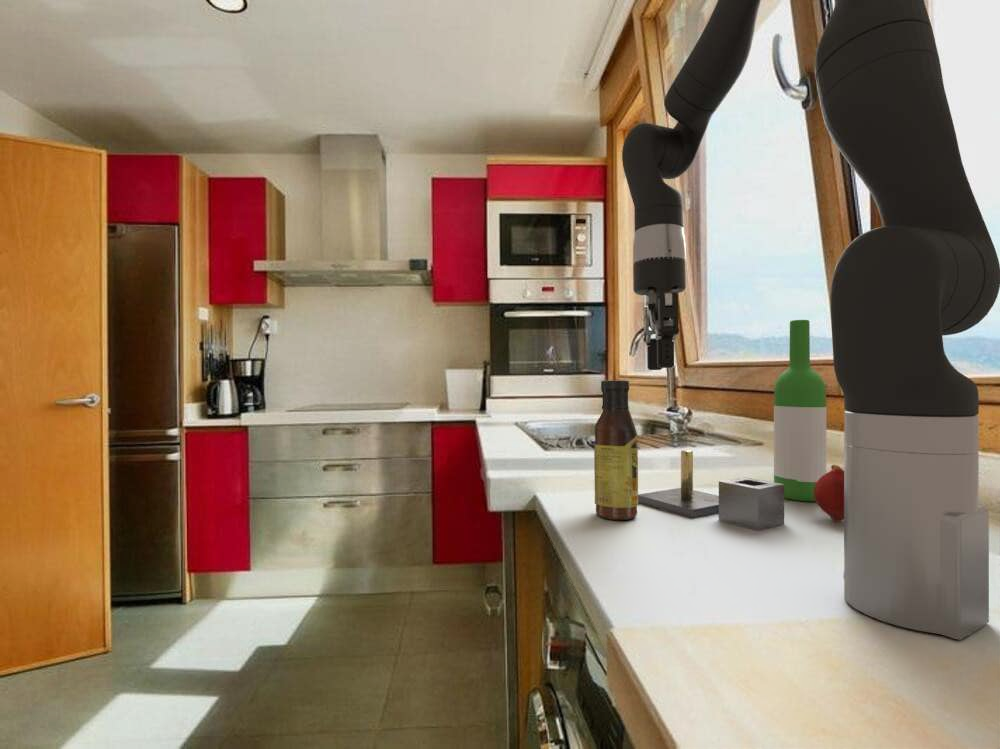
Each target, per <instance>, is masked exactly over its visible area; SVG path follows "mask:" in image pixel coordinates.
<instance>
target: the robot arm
mask: <svg viewBox="0 0 1000 749" xmlns="http://www.w3.org/2000/svg"><path fill="white" fill-rule="evenodd" d="M761 2H762V0H717V2H716V4H715V7H714V9H713V11H712V13H711V15H710V17H709V19H708V21H707V24H706V25H705V27H704V29H703V31H702V32H701V35H700V36H699V38H698V40H697V42H696V43H695V45H694V47H693V48H692V50H691V52H690V54H689V56H687V58H686V60H685V62H684V63H683V65H682V67H681V68H680V70H679V72H678V74H676V77H675V78H674V80H673V82H672V84H671V85H670V87H669V88H668V91H667V92H666V94H665V97H664V102H663V103H664V108H665V110H666V112H667V113H668V115H670V117H671V118H673V119H674V120H675V121H676V122H677V123H676V124H675V126H674V127H673V128H672V127H667V126H663V125H659V124H652V123H648V122H642V123H639V124H636V125H635V126H634V127H632V128H631V130H630V131H629V132H628V133H627V135H626V137H625V139H624V142H623V146H622V150H621V151H622V152H621V160H622V168H623V171H624V175H625V178H626V179H625V180H626V182H627V186H628V189H629V192H630V197H631V200H632V202H633V207H634V217H633V218H634V239H633V245H632V246H633V247H632V265H633V266H632V274H633V275H632V280H633V281H632V282H633V283H632V284H633V293H635V294H636V295H638V296H647V297H648V300H647V304H646V305H644V307H643V342H644V344H645V346H646V347H647V349H646V351H647V358H646V359H647V362H646V363H647V369H648V370H649V371H661V370H663V369H671V368H673V367H674V366H675V341H676V339H677V336H678V335H679V333H680V328H679V300H678V299H679V294H680V293H683V292H684V291H685V290H686V288H687V278H686V276H687V271H686V264H687V262H686V260H687V259H686V257H687V256H686V239H685V238H686V237H685V233H684V201H683V195H682V193H681V192H680V191H679V190H678V189H676V188H675V187H672V186H671V185H669V184H667V183H666V182H665V181H664V180H674V179H677V178H678V177H680V176H682V175H683V174H684V173H686V172H687V171H688V170H689V169H690V167H692V164H693V163H694V160H695V159H696V155H697V154H698V151H699V148H700V146H701V143H702V141H703V138H704V136H705V134H706V131H707V129H708V126H709V123H710V121H711V118H712V116H714V114H715V112H716V111H717V110H718V108H719V107H720V105H721V104H722V102H723V101H724V100H725V99H726V97H727V96H728V94H729V93H730V91H731V90H732V88H734V86H735V84H736V83H737V81H738V79H739V77H740V76H741V74H742V72H743V71H744V68H745V67H746V65H747V62H748V59H749V56H750V52H751V48H752V43H753V39H754V35H755V28H756V23H757V18H758V12H759V9H760V5H761ZM933 30H934V29H933V27H932V23H931V20H930V16H929V14H928V10H927V7H926V1H925V0H834V6H833V10H832V12H831V15H830V17H829V19H828V21H827V23H826V25H825V27H824V29H823V32H822V34H821V37H820V40H819V42H818V45H817V47H816V52H815V55H814V56H815V57H814V73H815V74H814V75H815V83H816V88H817V89H816V90H817V93H818V94H817V95H818V100H819V105H820V109H821V110H820V111H821V114H822V118H823V122H824V125H825V127H826V130H827V132H828V134H829V136H830V138H831V139H832V141H833V143H834V144H835V147H836V148H837V149H838V150H839V152H840V153H841V155H842V156H843V157H844V159H845V160H846V161H847V163H848V164H849V165H850V167H851V168H852V169H853V170H854V172H855V173H856V174H857V177H859V178H860V180H861V181H862V182H863V184H864V185H865V187H866V188H867V190H868V191H869V193H870V195H871V197H872V198H873V200H874V202H875V204H876V207H877V209H878V212H879V216H880V220H881V223H882V226H879V227H876V228H873V229H871V230H867V231H865V232H863V233H861V234H860V235H858V236H857V237H855V238H854V239H853V240H852V241H851V242H850V243H849V244H848V245H847V246H846V247H845V249H844V250H843V251H842V253H841V254H840V256H839V259H838V261H837V263H836V265H835V267H834V272H833V274H832V279H831V285H830V295H829V296H830V297H829V298H830V300H829V301H830V302H829V303H830V305H829V306H830V324H831V336H832V337H831V342H832V343H831V344H832V357H833V360H832V361H833V369H834V370H833V371H834V374H835V378H836V381H837V382H838V385H839V387H840V390H841V392H842V394H843V402H844V403H843V404H844V405H843V406H844V408H843V409H844V418H843V419H844V420H843V421H844V423H843V424H844V428H843V429H844V430H843V432H844V433H843V435H844V438H843V439H844V443H843V444H844V446H843V451H844V452H843V454H844V455H843V457H844V458H843V461H844V462H843V470H844V520H843V529H844V530H843V556H844V557H843V561H844V562H843V568H844V569H843V570H844V571H843V583H844V584H843V589H844V590H843V591H844V592H843V593H844V594H843V596H844V599H845V601H846V602H847V604H849V605H850V606H851V607H852V608H853V609H855V610H857V611H859V612H861V613H863V614H864V615H867V616H869V617H871V618H874V619H876V620H878V621H882V622H884V623H887V624H890V625H894V626H897V627H901V628H903V629H910V630H914V631H918V632H919V631H920V632H926V633H932V634H938V635H943V636H945V637H948V638H952V639H955V640H962V639H964V638H966V637H967V636H969V635H971V634H973V633H974V632H975V631H977V630H978V629H980V628H982V627H983V626H985V625H986V624H988V623H989V622H990V605H989V604H990V577H989V576H990V568H989V567H990V565H989V564H990V528H989V527H990V512H989V509H988V508H987V507H986V506H983V505H979V504H980V503H979V494H980V493H979V487H980V486H979V485H980V483H979V480H980V479H979V475H980V474H979V469H980V468H979V459H980V458H979V446H980V445H979V444H980V443H979V439H980V438H979V434H980V433H979V424H980V422H979V412H980V409H979V408H980V407H979V405H980V404H979V402H980V401H979V400H980V399H979V388H978V386H977V384H976V382H974V381H973V380H972V379H970V378H969V377H967V376H966V375H965V374H963V373H961V372H960V371H958V370H957V369H956V368H955V367H954V366H953V365H952V363H951V362H950V361H949V358H948V357H947V355H946V353H945V347H944V342H943V341H944V339H943V336H944V337H945V336H950V335H956V334H960V333H963V332H966V331H967V330H970V329H972V328H973V327H974V326H976V325H978V324H979V323H980V322H981V321H982V320H983V319H984V318H985V317H987V316H988V314H989V312H990V311H991V309H992V308H993V306H994V305H995V302H996V301H997V298H998V295H999V293H1000V292H999V291H1000V261H999V258H998V253H997V251H996V248H995V244H994V242H993V240H992V237H991V235H990V232H989V230H988V228H987V225H986V222H985V221H984V217H983V216H982V213H981V209H980V208H979V205H978V203H977V200H976V198H975V195H974V192H973V190H972V187H971V183H970V182H969V179H968V176H967V173H966V170H965V167H964V164H963V160H962V155H961V152H960V147H959V143H958V138H957V134H956V133H957V132H956V130H955V125H954V121H953V117H952V113H951V110H950V105H949V102H948V97H947V93H946V89H945V85H944V79H943V78H944V77H943V72H942V66H941V62H940V56H939V52H938V47H937V43H936V38H935V34H934V31H933Z"/></svg>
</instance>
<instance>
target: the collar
mask: <svg viewBox="0 0 1000 749" xmlns="http://www.w3.org/2000/svg"><path fill="white" fill-rule="evenodd" d="M718 496H719V513H718V521H722V522H726V523H729V524H733V525H737V526H740V527H744V528H748V529H751V530H754V531H762V530H766V529H770V528H773V527H778V526H782V525H785V498H784V484H779V483H774V481H768V480H761V479H756V478H750V477H745V476H744V477H737V478H731V479H724V480H718Z"/></svg>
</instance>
